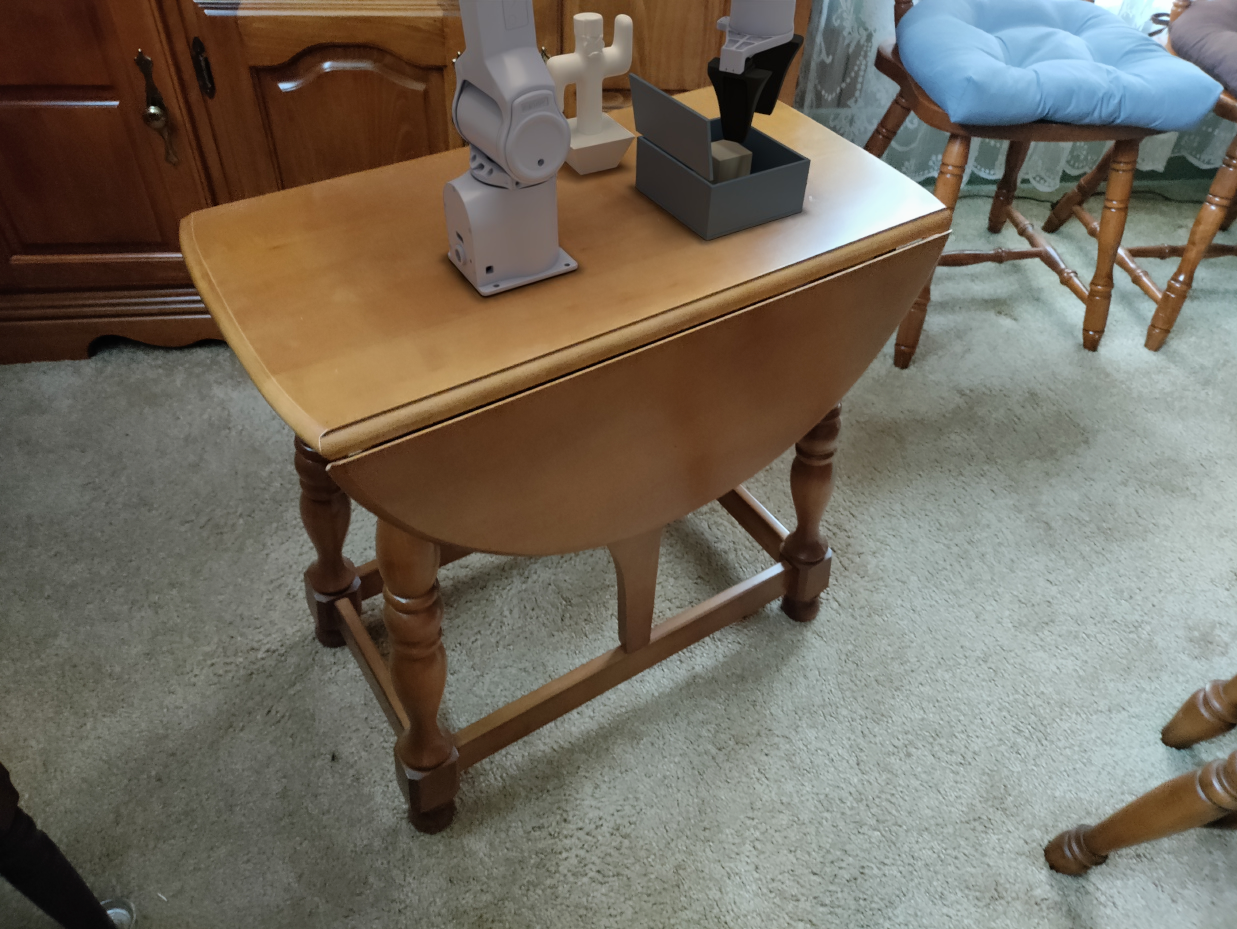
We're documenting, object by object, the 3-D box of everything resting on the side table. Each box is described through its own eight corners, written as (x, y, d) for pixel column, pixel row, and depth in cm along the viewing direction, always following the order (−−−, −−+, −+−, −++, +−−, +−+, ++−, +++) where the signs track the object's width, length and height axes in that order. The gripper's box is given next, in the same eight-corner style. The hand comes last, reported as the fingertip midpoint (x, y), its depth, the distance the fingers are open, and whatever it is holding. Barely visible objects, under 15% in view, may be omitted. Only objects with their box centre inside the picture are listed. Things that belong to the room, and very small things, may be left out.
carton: (706, 240, 82) (711, 187, 78) (635, 187, 90) (636, 136, 86) (801, 211, 87) (811, 159, 83) (726, 163, 94) (731, 113, 91)
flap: (713, 179, 78) (710, 181, 78) (638, 129, 86) (635, 130, 86) (710, 119, 74) (706, 120, 74) (631, 72, 81) (628, 73, 81)
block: (730, 137, 89) (697, 145, 87) (752, 152, 86) (719, 160, 85) (726, 174, 91) (694, 182, 90) (748, 190, 89) (716, 198, 87)
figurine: (536, 158, 94) (528, 10, 84) (612, 142, 98) (613, -3, 87) (565, 185, 90) (560, 32, 80) (643, 167, 93) (649, 18, 83)
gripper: (752, -53, 81) (736, 94, 91) (692, -15, 72) (681, 145, 81) (824, -43, 79) (800, 106, 88) (773, -2, 69) (752, 160, 79)
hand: (748, 126), depth 85 cm, fingers open, 7 cm apart
